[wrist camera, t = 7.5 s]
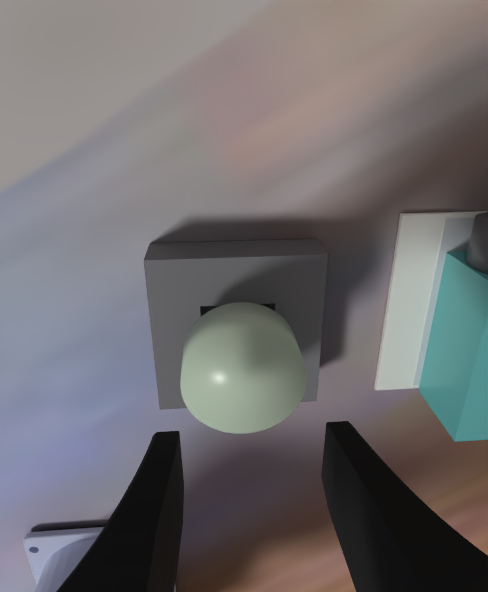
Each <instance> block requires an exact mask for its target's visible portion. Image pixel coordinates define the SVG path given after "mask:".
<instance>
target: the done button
mask: <svg viewBox="0 0 488 592" xmlns="http://www.w3.org/2000/svg"><path fill="white" fill-rule="evenodd" d="M306 385H307V372H306V367H305V364H304V361H303V358H302V355H301V353H300V350H299V347H298V344H297V341H296V339H295V336H294V333H293V331H292V329H291V327H290V325H289V324H288V323H287V321H286V320H285V319H284V318H283V317H282V316H281V315H279V314H278V313H277V312H275V311H273V310H272V309H270V308H268V307H265V306H263V305H259V304H255V303H248V302H237V303H230V304H225V305H222V306H219V307H216V308H214V309H212V310H210V311H209V312H207V313H206V314H204V315H203V316H202V317H200V318H199V319H198V320H197V321H196V322H195V323H194V325H193V326H192V327H191V329H190V330H189V332H188V334H187V336H186V339H185V342H184V348H183V358H182V369H181V381H180V388H181V394H182V397H183V400H184V403H185V404H186V406H187V408H188V409H189V411H190V412H191V413H192V414H193V415H194V416H195V417H196V418H197V419H198V420H199V421H201V422H202V423H204V424H205V425H207V426H209V427H211V428H213V429H216V430H219V431H223V432H228V433H236V434H245V433H253V432H258V431H262V430H265V429H268V428H270V427H272V426H275V425H276V424H278V423H280V422H281V421H283V420H284V419H286V418H287V417H288V416H289V415H290V414H291V413H292V412H293V411H294V410H295V409H296V408H297V407H298V405H299V403H300V402H301V400H302V398H303V396H304V393H305V390H306Z"/></svg>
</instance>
